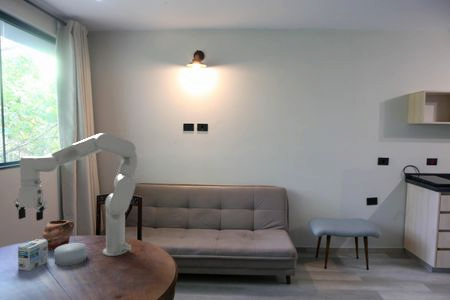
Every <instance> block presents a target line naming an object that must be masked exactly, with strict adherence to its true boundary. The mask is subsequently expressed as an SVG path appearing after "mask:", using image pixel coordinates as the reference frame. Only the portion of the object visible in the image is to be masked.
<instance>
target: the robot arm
mask: <svg viewBox="0 0 450 300" xmlns="http://www.w3.org/2000/svg"><path fill="white" fill-rule="evenodd" d="M136 149H137V148H136V146H135V144H134V143H133V141H130V140H127V139H123V138H120V137H117V136H115V135H111V134H110V133H106V132H105V133H104V132H101V133H97V134H95V135H92V136H90V137H88V138H84V139H83V140H80V141H78V142H75V143H72V144H70V145H69V146H67V147H64V148H61V149H59V150H56V151H54V152H51V153H48V154H47V155H44V156H36V155H35V156H34V155H29V156H28V155H27V156H22V157H20V159H19V169H20V170H19V171H20V175H19V178H20V184H19V188H18V196H17V197H18V198H16V199H15V200H13V202H14V205H15V208H16V210H17V212H18V219H19V220H22V219H25V218H26V213H27V212H26V208H31V209H32V208H33V209H35V210H36V215H35V217H36V218H35V220H36V221H37V222H39V221H42V220H43V219H44V211H45V209H47V206H48V202H47V201H46V200H45V199H44V198H45V197H44V191H43V186H42V185H41V183H42V181H41V179H40V178H41V176H40V175H41V172H42V173H52V172H55V170H57V169H58V167H60V166H63V165H65V164H68V163H70V162H74V161H79V160H80V161H81V160H84V159H85V158H88V157H90V156H93V155H95V154H98V153H100V152H102V151H104V152H107V153H110V154H114V155H117V156H119V157H120V164H119V168H118V170H117V173H116V175H115V177H114V180H113V186H114V187H113V188H114V190H113V192H112V193H111V192H110V194H109V195H107V197H106V199H105V202H104V205H105V206H104V208H105V247H104V249H103V250H102V254H103V255H104V256H108V257H115V256H121V255H123V254H125V253H127V252H128V251H131V250H132V245H130V244H128V243H127V241H126V212H127V211H128V210H129V206H130V204H131V201H132V199H133V196H134V192H135V189H136V181H135V179H134V176H135V174H136V169H137V165H138V156H137V152H136Z"/></svg>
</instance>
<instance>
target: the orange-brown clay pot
mask: <svg viewBox="0 0 450 300" xmlns="http://www.w3.org/2000/svg"><path fill="white" fill-rule="evenodd" d="M74 223H75V222H74V221H72V220H70V221H69V220H65V219H61V220H60V219H59V220H58V219H57V220H56V219H55V220H51V221H49V222H48V223H47V224H46V226H45V228H44V230H43V231H42V238H43V240H47V241H48V250H55V249H56V248H57V247H59V246H61V245H65V244H70V239H71V235H72V233H73V230H74V228H75V224H74Z"/></svg>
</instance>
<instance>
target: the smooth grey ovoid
mask: <svg viewBox="0 0 450 300" xmlns="http://www.w3.org/2000/svg"><path fill="white" fill-rule="evenodd" d="M53 253H54V264H55V265H57V266H60V267H61V266H62V267H65V266H67V267H68V266H74V265H77V264H81V263H82V262H84V261H85V260H86V259H87V245H86V244H85V243H84V242H83V243H82V242H72V243H71V242H69V244H65V245H61V246H59V247H57V248H56V249H55V250H54V251H53Z"/></svg>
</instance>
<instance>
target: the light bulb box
mask: <svg viewBox="0 0 450 300" xmlns="http://www.w3.org/2000/svg"><path fill="white" fill-rule="evenodd" d="M48 251H49V249H48V241H47V240H46V239H38V238H36V239H34V240H31V241H29V242H27V243H24V244H22V245H20V246H17V258H18V259H17V266H18V268H17V270H19V271H20V270H21V271H26V272H27V271H28V272H30V271H33V270H34V269H36V268H39V267H40V266H42V265H44V264H46V263H48V261H49V260H48V258H49V257H48V256H49V254H48V253H49V252H48Z"/></svg>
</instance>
